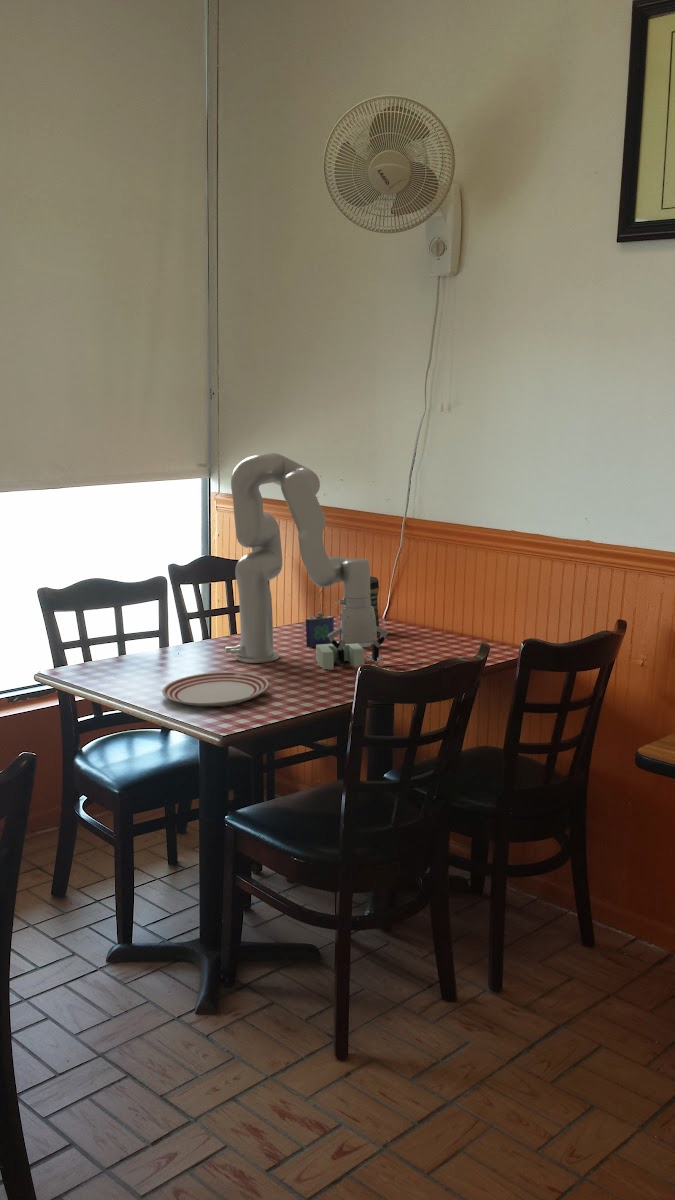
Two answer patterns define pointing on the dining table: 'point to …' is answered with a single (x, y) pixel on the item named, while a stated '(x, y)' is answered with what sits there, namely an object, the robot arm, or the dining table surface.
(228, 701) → the dinner plate
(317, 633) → the flask
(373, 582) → the coffee jar
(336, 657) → the post
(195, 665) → the dining table surface
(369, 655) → the mat
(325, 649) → the c link
